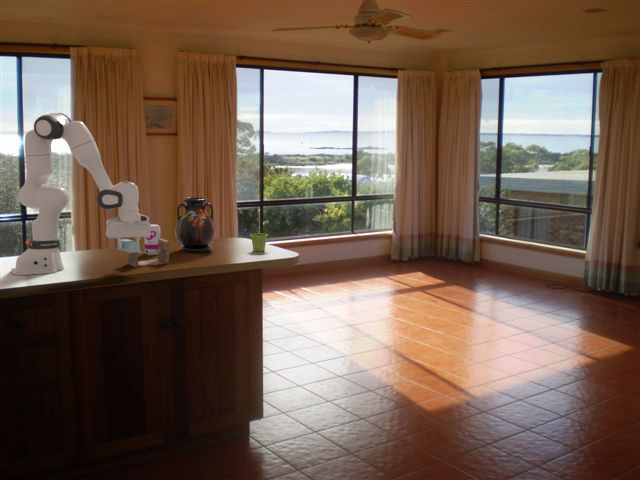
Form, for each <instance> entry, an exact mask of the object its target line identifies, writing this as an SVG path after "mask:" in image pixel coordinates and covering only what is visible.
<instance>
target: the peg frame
mask: <svg viewBox="0 0 640 480" xmlns="http://www.w3.org/2000/svg"><path fill="white" fill-rule="evenodd" d="M156 251H157V252H158V253H159V254H158V258H156V259H149V260H146V259H145V260H140V261H139V255H142V254H143V252H142V251H140V252H135V253H129V252H127V264H128V265H129V266H132V267H133V268H139V267H142V268H143V267H149V266H158V265H159V264H160V265H167V264H170V245H169V240H166V239H164V238H161V239H158V249H155V252H156ZM160 265H159V266H160Z"/></svg>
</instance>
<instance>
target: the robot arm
mask: <svg viewBox="0 0 640 480" xmlns="http://www.w3.org/2000/svg"><path fill="white" fill-rule="evenodd" d="M60 139H62V140H64V141H65V142H66V143H67V145H68V148H69V150H70V151H71V153H72V156H73V157H74V158H75V160H76V161H77V163H78V164H79V165H80V166H82V167H83V168H85V169H86V170H87V171H88V172H89V173H90V174H91V176H92V178H93V179H94V182H95V184H96V186H97V189H99V192H98V193H97V196H96V203H97V205H98V207H100V208H102V209H103V210H113V209H118V217H116V216H115V217H109V218H107V219H106V220H105V226H106V228H105V229H106V230H105V237H106V238H108V239H116V240H117V244H118V243H119V247H120V248H124V244H123V243H121V241H120V240H122V239H127V238H128V239H129V238H130V239H131V238H135V241H137V242H140V241H141V238H144V237H149V236H150V235H151V226H150V224H151V223H150V222H149V220H150V217H149V216H147V215H144V214H142V213H140V210H139V202H140V201H139V200H140V192H139V187H138V185H137V184H136V183H135V182H131V181H126V180H121V181H120V182H118V183H117V184H114V183H113V182H112V181H111V178H110V177H109V175H108V173H107V171H106V169H105V167H104V164H103V161H102V158H101V154H100V150H99V148H98V145H97V142H96V141H95V139H94V136H93V135H92V133H91V132H90V130H89V129H88V127H87V126H86V125H85V123H84V122H83V121H80V120H72V119H71V118H70V117H69V116H68V115H66V114H64V113H61V112H54V113H53V112H51V113H48V114H43V115H41V116H39V117H38V118H37V119H35V120H34V123H33V128H32V129H31V130H29V131H27V132H26V134H25V136H24V154H25V164H26V165H25V166H26V177H25V180H24V184H23V185H22V187H21V188H19V191H18V194H17V198H18V201H19V202H20V204H21V205H23V206H24V207H27V208H30V209H37V210H38V213H37V214H38V215H37V217H36V219H34V220H33V221H32V223H31V231H32V233H31V234H32V239H31V240H26V241H25V244H26V245H27V246H28V248H27V249H26V250H25V251H24V252H23V253H21V254H20V255H19V256H17V259H16V261H15V267H12V268H11V269H10V273H11V274H12V273H13V274H12V275H15V274H16V275H15V276H28V275H29V276H30V275H41V274H42V275H44V274H54V273H56V272H59V271H61V270H62V271H63V270H64V269H65V268H64V264H63V261H62V256H61V240H60V237H59V221H60V216H61V214H62V211H63V210H64V208H66V207H67V206H68V204H69V200H70V199H69V198H70V196H69V193H68V192H67V190H66V189H65V188H64V187H63V188H62V187H61V186H57V185H48V179H49V176H50V175H52V174H53V172H54V162H53V152H52V142H53V141H54V140H60Z"/></svg>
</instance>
